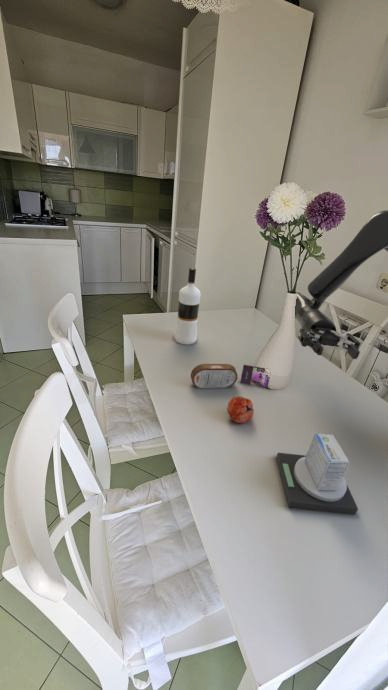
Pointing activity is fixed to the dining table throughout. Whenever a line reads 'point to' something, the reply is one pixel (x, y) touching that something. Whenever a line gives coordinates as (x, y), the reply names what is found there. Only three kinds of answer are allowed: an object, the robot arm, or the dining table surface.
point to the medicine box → (326, 462)
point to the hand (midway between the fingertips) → (338, 353)
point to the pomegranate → (240, 409)
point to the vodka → (188, 311)
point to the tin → (214, 375)
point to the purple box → (253, 375)
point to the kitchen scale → (311, 488)
